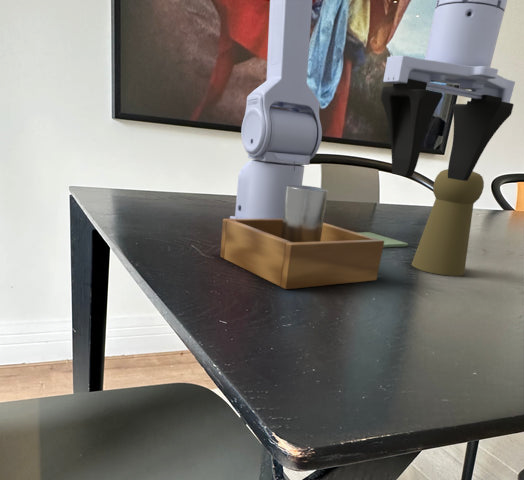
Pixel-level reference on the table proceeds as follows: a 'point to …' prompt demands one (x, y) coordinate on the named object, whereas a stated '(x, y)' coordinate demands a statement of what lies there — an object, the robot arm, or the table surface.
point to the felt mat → (386, 240)
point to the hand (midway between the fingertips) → (430, 177)
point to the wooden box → (300, 254)
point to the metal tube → (304, 213)
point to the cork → (448, 225)
